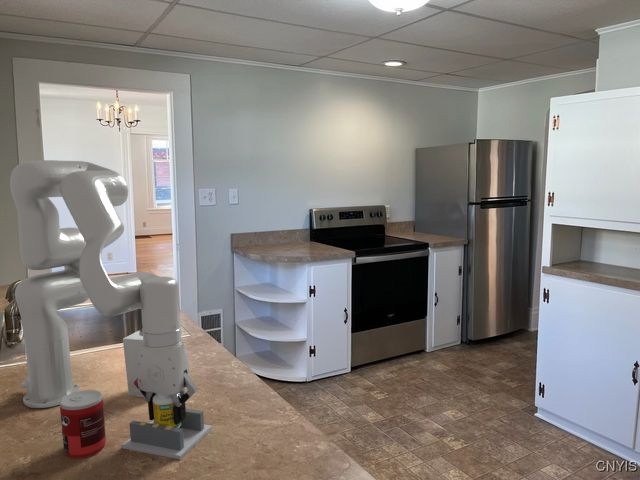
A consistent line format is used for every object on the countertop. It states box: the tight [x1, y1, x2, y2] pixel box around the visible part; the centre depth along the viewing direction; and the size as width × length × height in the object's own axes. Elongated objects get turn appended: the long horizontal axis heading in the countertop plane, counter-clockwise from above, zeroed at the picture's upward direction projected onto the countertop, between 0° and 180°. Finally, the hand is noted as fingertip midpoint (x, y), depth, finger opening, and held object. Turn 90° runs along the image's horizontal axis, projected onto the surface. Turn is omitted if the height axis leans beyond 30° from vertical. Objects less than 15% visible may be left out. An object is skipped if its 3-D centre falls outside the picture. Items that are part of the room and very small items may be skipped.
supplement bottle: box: [153, 393, 181, 428], centre depth 102 cm, size 5×5×10 cm
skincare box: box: [122, 330, 145, 399], centre depth 124 cm, size 8×7×16 cm
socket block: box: [121, 408, 213, 461], centre depth 103 cm, size 14×12×5 cm
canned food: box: [59, 389, 107, 459], centre depth 99 cm, size 8×8×11 cm
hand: (167, 418), depth 103 cm, fingers closed on supplement bottle, 5 cm apart
